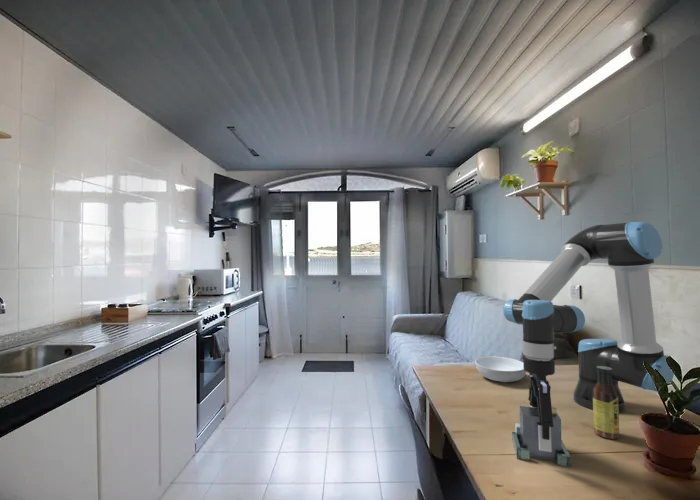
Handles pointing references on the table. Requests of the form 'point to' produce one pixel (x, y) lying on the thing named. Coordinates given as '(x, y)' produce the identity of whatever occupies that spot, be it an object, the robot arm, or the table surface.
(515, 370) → the serving bowl
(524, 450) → the socket
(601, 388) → the sauce bottle
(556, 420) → the grey box with knob
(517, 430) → the light grey rectangular block
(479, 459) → the table surface
